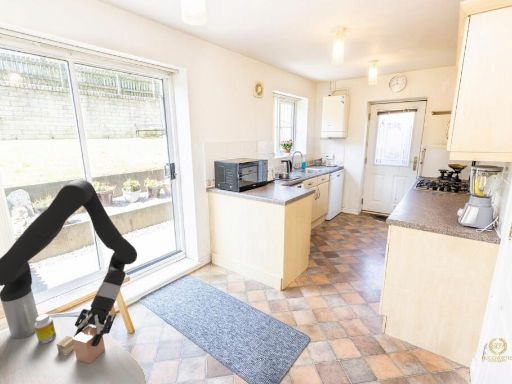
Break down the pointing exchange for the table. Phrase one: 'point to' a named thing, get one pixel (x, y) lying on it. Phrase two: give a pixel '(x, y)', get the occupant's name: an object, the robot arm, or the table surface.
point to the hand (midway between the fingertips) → (84, 343)
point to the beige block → (65, 345)
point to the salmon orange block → (87, 345)
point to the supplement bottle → (44, 328)
